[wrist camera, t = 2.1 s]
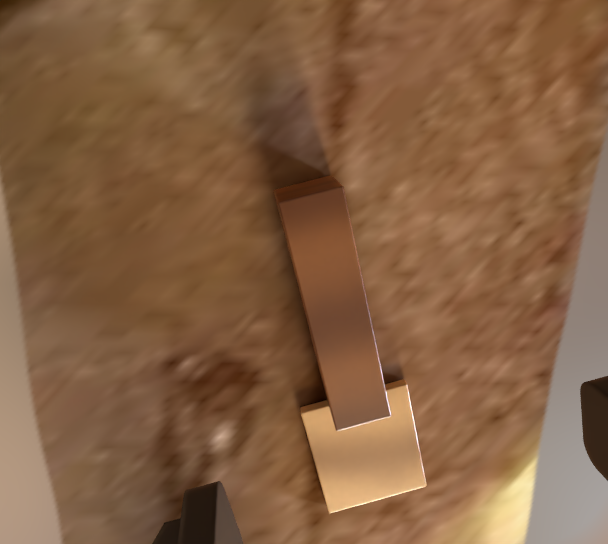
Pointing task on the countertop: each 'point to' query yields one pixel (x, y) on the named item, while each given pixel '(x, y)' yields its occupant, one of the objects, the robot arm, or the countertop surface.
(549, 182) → the countertop surface
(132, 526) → the countertop surface
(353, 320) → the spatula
